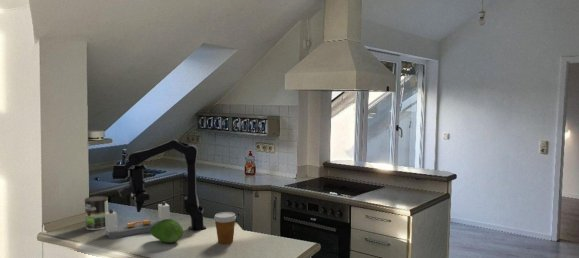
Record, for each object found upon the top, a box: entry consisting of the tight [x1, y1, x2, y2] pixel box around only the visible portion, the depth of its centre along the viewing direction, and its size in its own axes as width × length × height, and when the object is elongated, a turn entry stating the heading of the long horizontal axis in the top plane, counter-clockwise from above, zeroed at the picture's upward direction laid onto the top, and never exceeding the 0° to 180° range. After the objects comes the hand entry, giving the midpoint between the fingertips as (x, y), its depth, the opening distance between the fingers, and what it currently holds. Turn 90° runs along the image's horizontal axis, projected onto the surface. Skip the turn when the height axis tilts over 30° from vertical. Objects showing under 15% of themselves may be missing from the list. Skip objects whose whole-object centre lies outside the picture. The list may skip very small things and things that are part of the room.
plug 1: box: [105, 208, 119, 232], centre depth 208 cm, size 5×4×10 cm
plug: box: [157, 200, 171, 221], centre depth 221 cm, size 5×4×10 cm
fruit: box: [149, 218, 184, 244], centre depth 200 cm, size 15×10×10 cm, turn 64°
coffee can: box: [84, 195, 109, 231], centre depth 222 cm, size 10×10×14 cm
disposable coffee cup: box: [213, 211, 237, 245], centre depth 198 cm, size 10×10×12 cm
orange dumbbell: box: [126, 219, 151, 227], centre depth 215 cm, size 3×10×2 cm, turn 122°
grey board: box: [105, 219, 160, 240], centre depth 215 cm, size 8×28×2 cm, turn 123°
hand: (138, 211), depth 215 cm, fingers closed
